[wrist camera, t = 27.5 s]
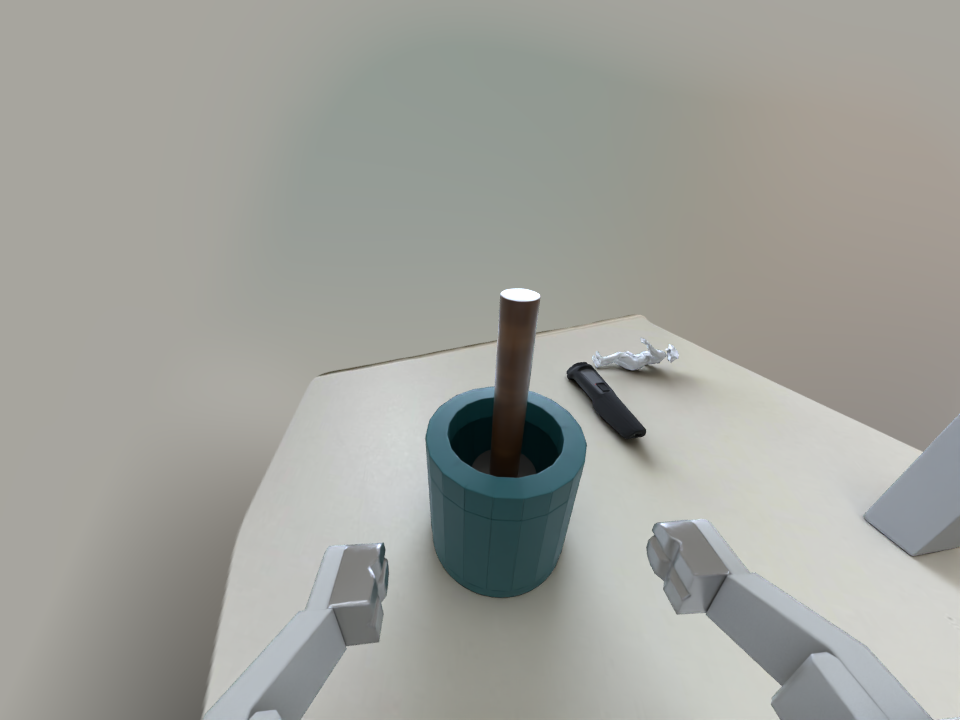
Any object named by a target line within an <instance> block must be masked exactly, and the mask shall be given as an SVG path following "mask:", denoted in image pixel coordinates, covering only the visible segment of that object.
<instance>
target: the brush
mask: <svg viewBox="0 0 960 720" xmlns="http://www.w3.org/2000/svg"><path fill="white" fill-rule="evenodd" d="M539 304H540V295H539V294H538V293H536V292H534V291H531V290H527V289H508V290H505V291H502V292H501V295H500V310H499V326H498V341H497V357H496V373H495V389H494V405H493V421H492V437H491V450H488V451H485V452H483V453H482V454H480V455H479V456H478V457H477V458H476V459H475V461H474V462H473V465H472V468H473V469H475V470H477V471H479V472H482V473H485V474H489V475H492V476H495V477H508V478H520V477H525V476H529V475H534V474H536V469H535V467H534V465H533V464H532V462H531V461H530V460H529V459H528V458H527V457H526V456H525V455H523V454H522V453H521V448H522V440H523V432H524V424H525V416H526V408H527V400H528V392H529V384H530V376H531V368H532V360H533V352H534V344H535V336H536V328H537V320H538V312H539Z"/></svg>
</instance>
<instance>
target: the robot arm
mask: <svg viewBox="0 0 960 720" xmlns="http://www.w3.org/2000/svg"><path fill="white" fill-rule="evenodd" d="M652 531H653V533H654V536H653V537H652V538H650V539H649V540H648V544H647V547H646V548H647V556H648V560H649V562H650V565H651V567H652V569H653V571H654V573H655V574H656V575H657V576H658V577H660V578H661V579H662V580H663V581H664V587H663V590H664V592H665V594H666V595H667V597H668V599H669V601H670V603H671V605H672V607H673V608H674V610H675V612H676V614H693V613H706V615H707V616H708V617H709V618H710V619H711V620H712V621H713V622H714V623H715V624H716V625H717V626H718V627H719V628H720V629H722V630H723V631H724V632H725V633H726V634H727V635H728V636H729V637H730V638H731V639H732V640H733V641H734V642H735V643H736V644H738V645H739V646H740V647H741V648H742V649H743V650H744V651H745V652H746V653H747V654H748V655H749V656H750V657H751V658H753V659H754V660H755V661H756V662H757V663H758V664H759V665H760V666H761V667H762V668H763V669H764V670H765V671H766V672H767V673H769V674H770V675H771V676H772V677H773V678H774V679H775V680H776V681H777V682H778V683H779V684H780V685H781V686H782V687H781V688H780V689H779V690H778V691H777V692H776V694H775V695H774V696H773V697H772V700H771V705H772V707H773V708H774V710H775V712H776V713H777V715H778V717H779V718H780V720H933V719H932V718H931V717H930V716H929V714H928V713H927V712H926V711H925V710H924V709H923V708H922V707H921V706H920V705H919V703H918V702H917V701H916V700H915V699H914V698H913V697H912V696H911V695H910V694H909V692H908V691H907V690H906V689H905V688H904V687H903V686H902V685H901V684H900V683H899V681H898V680H897V679H896V678H895V677H894V676H893V675H892V674H891V673H890V672H889V670H888V669H887V668H886V667H885V666H884V665H883V664H882V663H881V662H880V661H879V659H878V658H877V657H876V656H875V655H874V654H873V653H872V652H871V651H870V650H869V648H868V647H867V646H865V645H864V644H862V643H861V642H859V641H858V640H856V639H855V638H853V637H852V636H850V635H849V634H847V633H846V632H844V631H843V630H841V629H840V628H838V627H837V626H835V625H834V624H832V623H831V622H829V621H828V620H826V619H825V618H823V617H822V616H820V615H819V614H817V613H816V612H814V611H813V610H811V609H810V608H808V607H807V606H805V605H803V604H802V603H800V602H799V601H797V600H796V599H794V598H793V597H791V596H790V595H788V594H787V593H785V592H784V591H782V590H781V589H779V588H778V587H776V586H775V585H773V584H772V583H770V582H769V581H767V580H766V579H764V578H763V577H761V576H760V575H758V574H757V573H750V572H749V570H748V569H747V568H746V567H745V565H744V564H743V563H742V562H741V560H740V559H739V558H738V556H737V555H736V554H735V553H734V551H733V550H732V549H731V548H730V546H729V545H728V544H727V542H726V541H725V540H724V539H723V537H722V536H721V535H720V534H719V532H718V531H717V530H716V529H715V527H714V526H713V525H712V524H711V522H709V521H708V520H706V519H697V520H680V521H669V522H658V523H656V524H654V526H653V529H652ZM384 555H385V546H384V543H371V544H355V545H337V546H329V547H328V548H327V550H326V551H325V553H324V556H323V559H322V562H321V565H320V568H319V571H318V574H317V576H316V579H315V582H314V585H313V588H312V591H311V594H310V597H309V600H308V602H307V605H306V608H305V611H299V612H298V613H297V614H296V615H295V616H294V617H293V618H292V619H291V621H290V622H289V623H288V624H287V625H286V626H285V627H284V628H283V629H282V630H281V632H280V633H279V634H278V635H277V636H276V637H275V638H274V639H273V640H272V641H271V643H270V644H269V645H268V646H267V647H266V648H265V649H264V650H263V651H262V652H261V654H260V655H259V656H258V657H257V658H256V659H255V660H254V661H253V662H252V663H251V665H250V666H249V667H248V668H247V669H246V670H245V671H244V672H243V673H242V674H241V676H240V677H239V678H238V679H237V680H236V681H235V682H234V683H233V684H232V685H231V687H230V688H229V689H228V690H227V691H226V692H225V693H224V694H223V695H222V696H221V698H220V699H219V700H218V701H217V702H216V703H215V704H214V705H213V706H212V707H211V709H210V710H209V711H208V712H207V713H206V714H205V716H204V718H203V720H301V718H302V717H303V715H304V714H305V712H306V711H307V709H308V707H309V706H310V704H311V703H312V701H313V700H314V698H315V697H316V695H317V694H318V692H319V690H320V689H321V687H322V686H323V684H324V683H325V681H326V680H327V678H328V677H329V675H330V673H331V672H332V670H333V669H334V667H335V666H336V664H337V663H338V661H339V660H340V658H341V657H342V655H343V653H344V652H345V650H346V649H347V648H346V646H352V645H360V644H368V643H376V642H379V640H380V633H381V627H382V621H383V615H384V613H383V609H382V604H381V602H382V601H383V600H384V598H385V597H386V595H387V588H388V577H389V568H388V560H387V559H386V558H384ZM939 720H960V717H955V718H947V719H939Z"/></svg>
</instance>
